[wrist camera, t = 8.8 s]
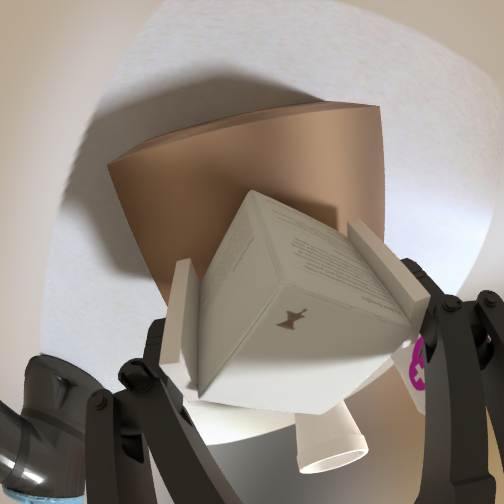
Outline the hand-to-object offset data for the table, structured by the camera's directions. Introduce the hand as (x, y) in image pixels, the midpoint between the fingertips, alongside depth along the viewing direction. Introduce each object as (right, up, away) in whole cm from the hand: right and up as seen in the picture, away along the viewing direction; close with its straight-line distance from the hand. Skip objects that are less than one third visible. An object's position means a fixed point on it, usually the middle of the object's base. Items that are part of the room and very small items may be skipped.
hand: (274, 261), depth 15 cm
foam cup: (+8, -20, +24) cm, 32 cm away
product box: (0, 0, 0) cm, 1 cm away
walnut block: (-1, +5, +8) cm, 9 cm away
